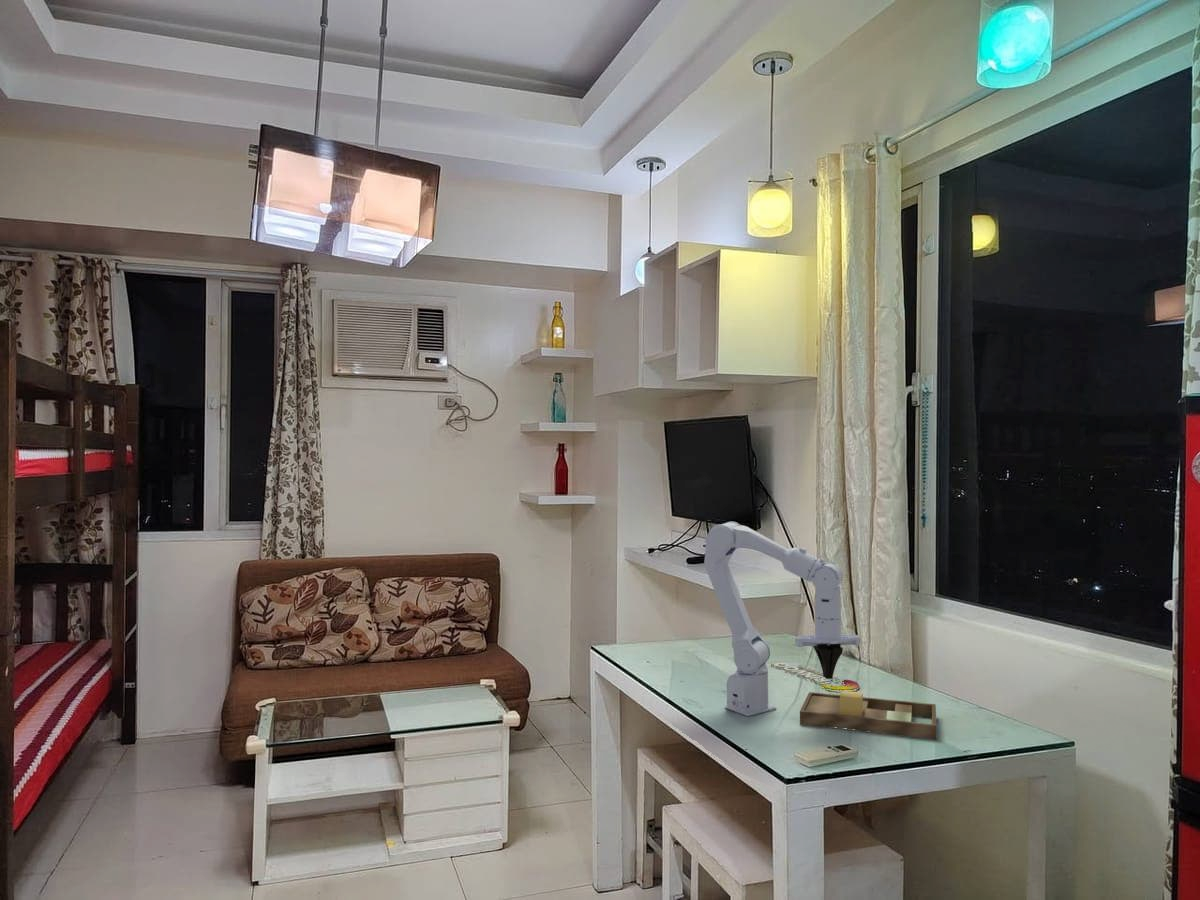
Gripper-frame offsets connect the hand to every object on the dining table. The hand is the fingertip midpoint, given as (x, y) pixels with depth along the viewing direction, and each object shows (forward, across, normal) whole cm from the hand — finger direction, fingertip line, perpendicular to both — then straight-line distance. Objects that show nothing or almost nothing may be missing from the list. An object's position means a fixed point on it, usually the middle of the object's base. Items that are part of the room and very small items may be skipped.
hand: (827, 677), depth 185 cm
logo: (+10, +9, +33) cm, 36 cm away
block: (+7, +4, -4) cm, 9 cm away
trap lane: (+9, +8, -3) cm, 13 cm away
